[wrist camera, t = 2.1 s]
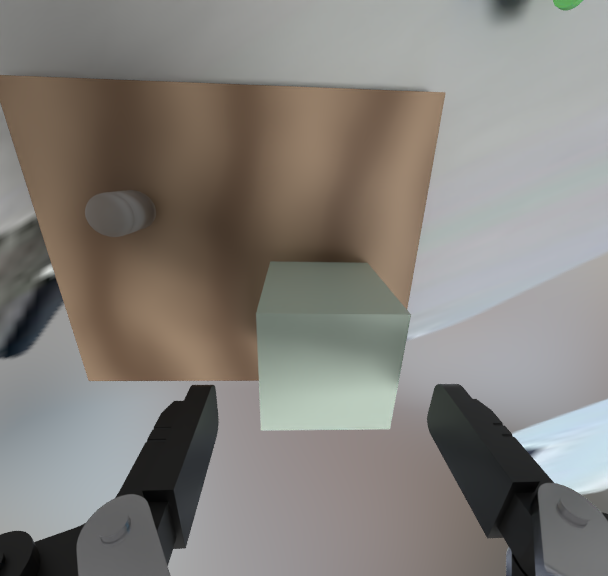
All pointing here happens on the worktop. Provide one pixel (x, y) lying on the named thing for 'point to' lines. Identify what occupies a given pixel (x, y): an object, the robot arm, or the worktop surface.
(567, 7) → the gear
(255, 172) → the board
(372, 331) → the pale green block
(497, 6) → the worktop surface
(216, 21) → the worktop surface
